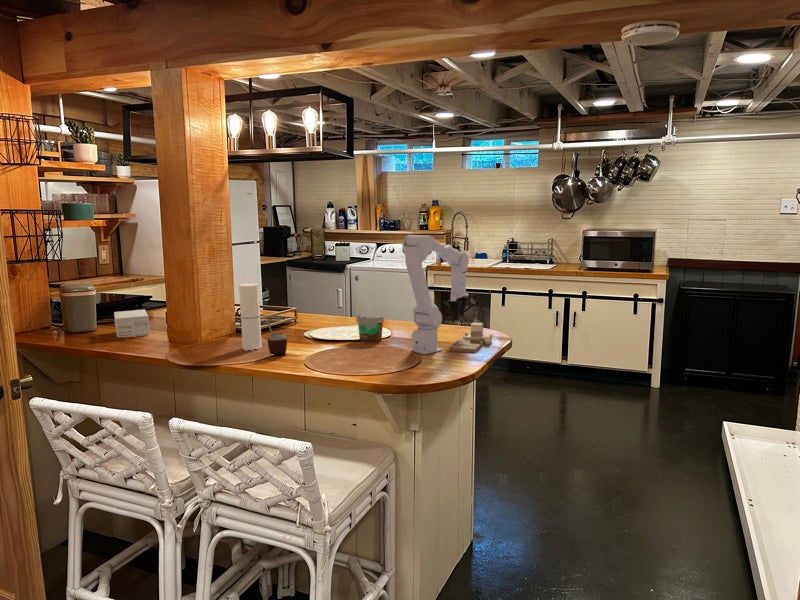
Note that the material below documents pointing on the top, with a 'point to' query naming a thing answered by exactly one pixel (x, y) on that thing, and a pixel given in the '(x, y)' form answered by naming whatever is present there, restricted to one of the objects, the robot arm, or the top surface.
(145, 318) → the supplement box
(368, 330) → the food container
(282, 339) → the mate gourd
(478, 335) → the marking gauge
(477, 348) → the walnut board
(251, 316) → the cylindrical container
